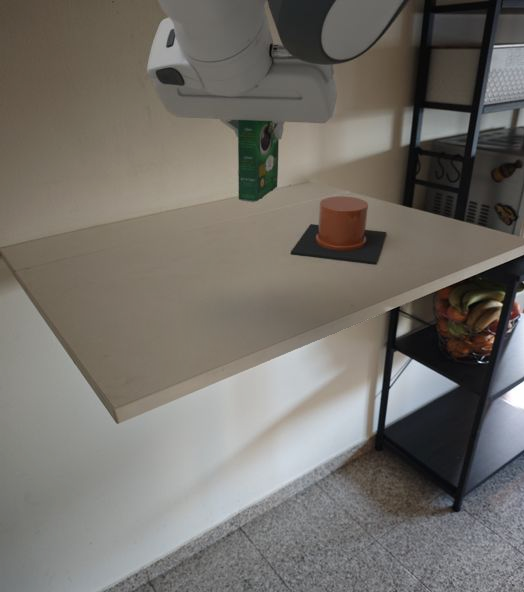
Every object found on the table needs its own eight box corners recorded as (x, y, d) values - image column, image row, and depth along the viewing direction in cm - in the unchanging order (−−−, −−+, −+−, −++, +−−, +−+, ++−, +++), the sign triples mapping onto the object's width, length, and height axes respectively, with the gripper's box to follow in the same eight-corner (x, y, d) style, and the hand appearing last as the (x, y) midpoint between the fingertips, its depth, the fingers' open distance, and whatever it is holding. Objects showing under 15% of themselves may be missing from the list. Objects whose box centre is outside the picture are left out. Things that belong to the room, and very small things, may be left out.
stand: (369, 235, 100) (373, 198, 96) (361, 253, 93) (366, 214, 89) (321, 230, 103) (323, 193, 99) (310, 247, 95) (312, 208, 91)
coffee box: (259, 185, 70) (260, 79, 63) (279, 187, 70) (281, 81, 62) (236, 200, 64) (234, 85, 57) (257, 203, 63) (258, 87, 56)
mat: (386, 234, 102) (386, 231, 102) (376, 264, 90) (376, 262, 89) (310, 226, 107) (310, 223, 106) (290, 254, 94) (290, 251, 94)
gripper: (336, 18, 48) (346, 114, 61) (147, 21, 53) (193, 109, 66) (324, 75, 47) (336, 160, 60) (132, 72, 52) (182, 151, 65)
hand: (260, 133), depth 63 cm, fingers closed on coffee box, 3 cm apart
